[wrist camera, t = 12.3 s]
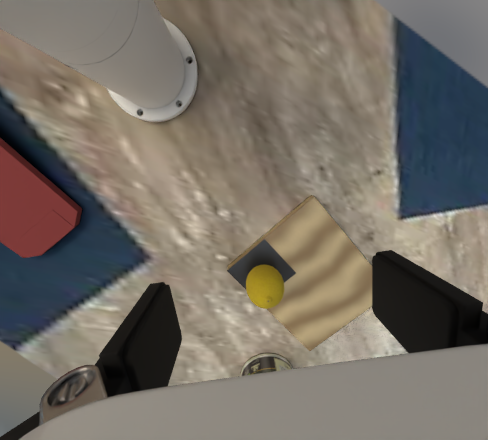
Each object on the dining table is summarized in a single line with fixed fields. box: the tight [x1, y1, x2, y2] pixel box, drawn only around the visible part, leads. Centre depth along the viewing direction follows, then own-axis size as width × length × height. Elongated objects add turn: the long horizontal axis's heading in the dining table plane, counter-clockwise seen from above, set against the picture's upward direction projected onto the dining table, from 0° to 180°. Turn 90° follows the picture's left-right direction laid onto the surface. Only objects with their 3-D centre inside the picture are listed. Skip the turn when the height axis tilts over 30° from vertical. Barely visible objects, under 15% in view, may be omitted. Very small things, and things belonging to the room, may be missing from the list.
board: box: [227, 195, 372, 351], centre depth 38 cm, size 22×18×2 cm
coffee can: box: [241, 353, 292, 376], centre depth 37 cm, size 10×10×14 cm
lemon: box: [246, 264, 284, 309], centre depth 33 cm, size 6×6×8 cm
